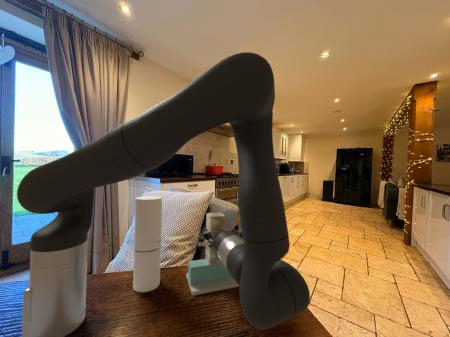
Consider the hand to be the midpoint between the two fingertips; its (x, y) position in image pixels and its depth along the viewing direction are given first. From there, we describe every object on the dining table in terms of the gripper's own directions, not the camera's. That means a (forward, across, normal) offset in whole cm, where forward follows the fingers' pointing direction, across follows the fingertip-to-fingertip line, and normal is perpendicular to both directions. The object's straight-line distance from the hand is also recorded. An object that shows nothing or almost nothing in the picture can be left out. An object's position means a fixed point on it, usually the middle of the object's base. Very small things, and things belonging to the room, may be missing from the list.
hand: (212, 230), depth 62 cm
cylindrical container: (+1, +19, +15) cm, 24 cm away
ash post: (-3, 0, +8) cm, 9 cm away
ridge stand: (-3, 0, +14) cm, 15 cm away
